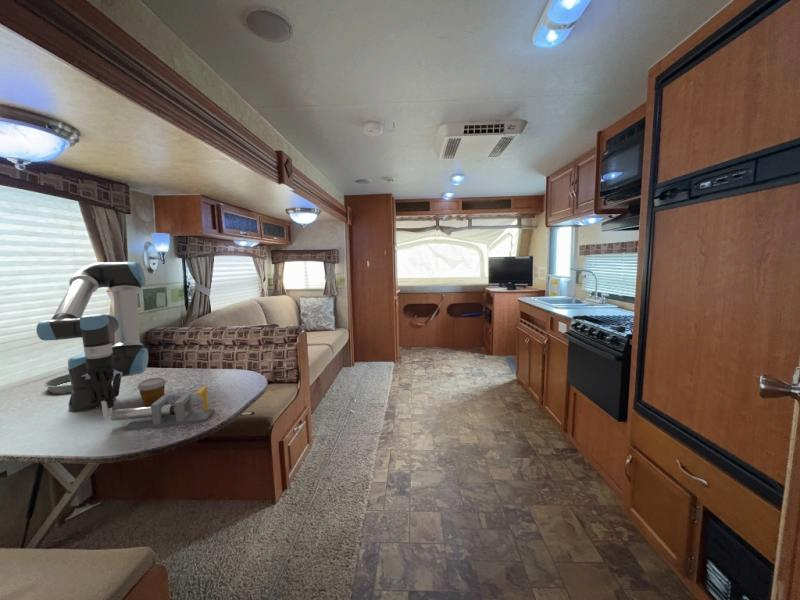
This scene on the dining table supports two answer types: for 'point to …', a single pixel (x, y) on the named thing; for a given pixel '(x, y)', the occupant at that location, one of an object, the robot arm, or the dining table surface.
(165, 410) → the aluminium tube
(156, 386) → the disposable coffee cup
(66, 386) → the cake pan
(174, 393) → the dining table surface
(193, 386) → the dining table surface
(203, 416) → the collar bench
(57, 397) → the dining table surface
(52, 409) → the dining table surface
